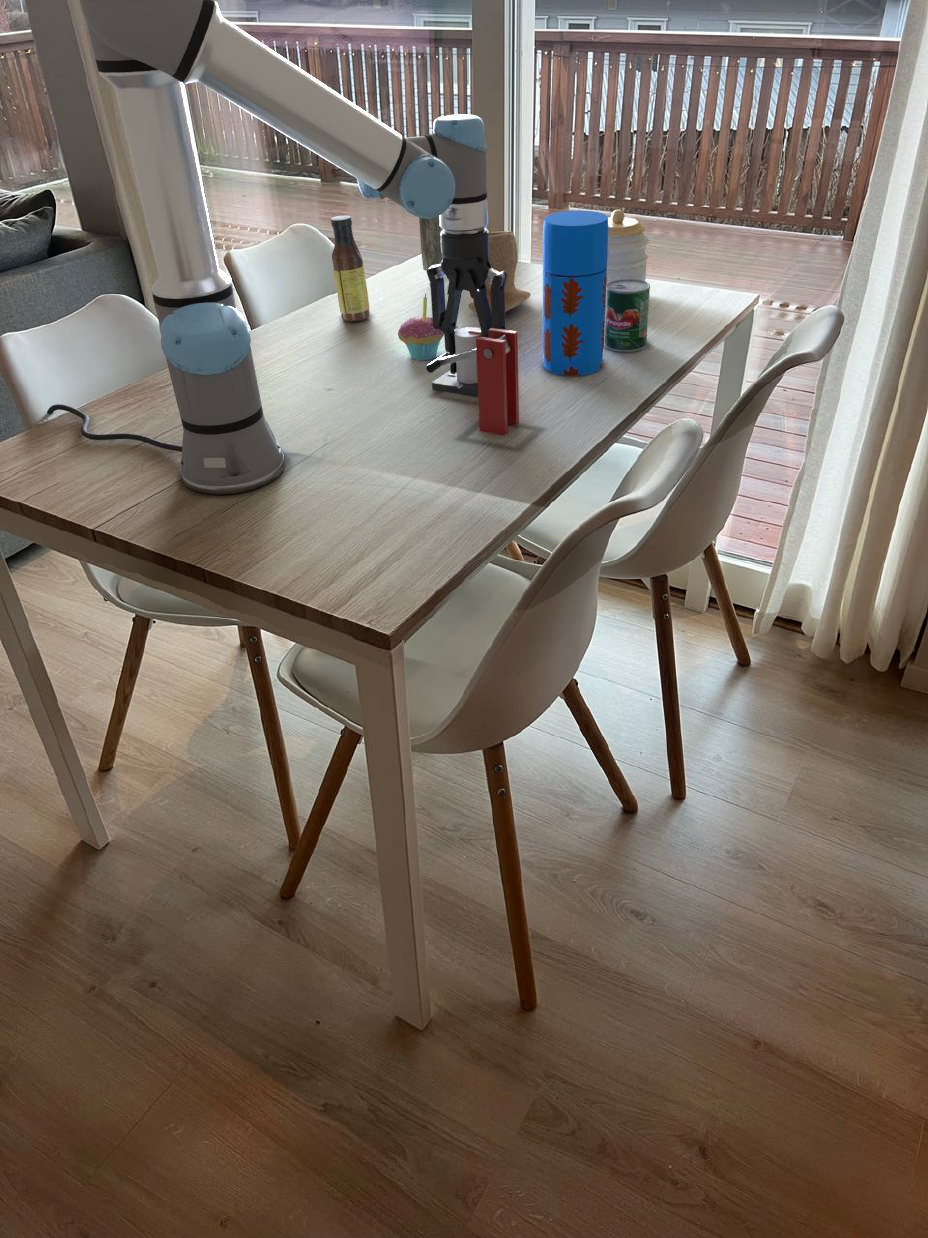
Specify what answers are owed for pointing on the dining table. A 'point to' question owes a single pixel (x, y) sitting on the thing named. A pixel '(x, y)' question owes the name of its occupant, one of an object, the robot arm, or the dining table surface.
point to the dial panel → (454, 385)
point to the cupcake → (421, 336)
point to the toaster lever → (458, 357)
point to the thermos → (574, 291)
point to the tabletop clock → (430, 242)
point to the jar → (626, 248)
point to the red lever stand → (497, 381)
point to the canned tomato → (626, 315)
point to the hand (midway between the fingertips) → (470, 372)
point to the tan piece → (504, 268)
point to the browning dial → (464, 342)
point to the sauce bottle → (349, 272)
